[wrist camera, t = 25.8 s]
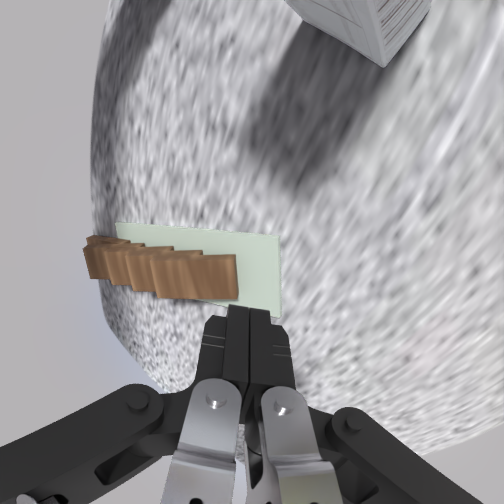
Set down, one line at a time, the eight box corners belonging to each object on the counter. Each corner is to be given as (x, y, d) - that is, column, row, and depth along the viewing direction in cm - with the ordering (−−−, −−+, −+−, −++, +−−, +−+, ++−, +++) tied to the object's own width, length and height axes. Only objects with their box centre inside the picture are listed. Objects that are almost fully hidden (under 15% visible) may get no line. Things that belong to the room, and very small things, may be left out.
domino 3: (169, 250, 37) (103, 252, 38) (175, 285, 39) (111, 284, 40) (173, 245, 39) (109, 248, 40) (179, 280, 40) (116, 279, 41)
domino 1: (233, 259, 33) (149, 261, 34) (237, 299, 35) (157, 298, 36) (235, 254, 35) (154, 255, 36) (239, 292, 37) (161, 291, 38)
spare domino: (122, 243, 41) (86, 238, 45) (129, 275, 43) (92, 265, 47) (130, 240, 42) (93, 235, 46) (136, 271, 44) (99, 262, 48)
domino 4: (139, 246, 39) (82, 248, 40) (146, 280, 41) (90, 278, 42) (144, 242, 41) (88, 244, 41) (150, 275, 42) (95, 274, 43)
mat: (279, 235, 32) (277, 237, 32) (281, 315, 36) (279, 318, 35) (117, 221, 43) (114, 223, 43) (130, 280, 47) (127, 282, 46)
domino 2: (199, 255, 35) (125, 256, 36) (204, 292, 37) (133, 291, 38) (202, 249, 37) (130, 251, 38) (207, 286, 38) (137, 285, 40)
